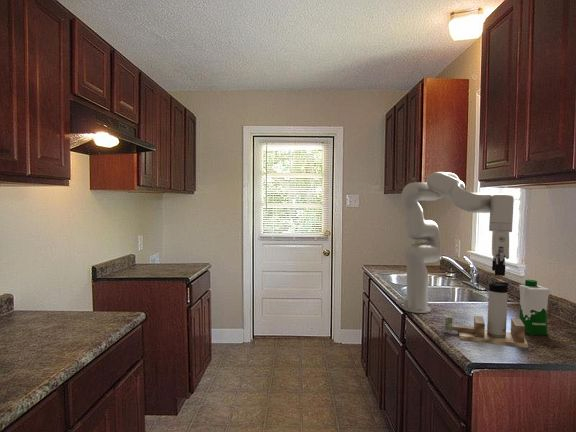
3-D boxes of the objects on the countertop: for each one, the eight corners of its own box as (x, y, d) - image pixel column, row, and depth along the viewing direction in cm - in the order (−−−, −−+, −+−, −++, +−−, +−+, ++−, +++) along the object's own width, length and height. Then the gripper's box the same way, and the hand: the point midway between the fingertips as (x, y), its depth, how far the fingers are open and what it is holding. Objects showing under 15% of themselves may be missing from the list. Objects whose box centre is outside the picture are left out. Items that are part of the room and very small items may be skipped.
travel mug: (509, 338, 143) (511, 284, 142) (489, 337, 144) (491, 283, 144) (503, 333, 149) (505, 281, 149) (484, 331, 151) (486, 280, 150)
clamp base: (459, 338, 146) (460, 319, 146) (459, 329, 157) (459, 311, 157) (527, 347, 138) (528, 327, 137) (522, 337, 149) (522, 318, 148)
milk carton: (536, 328, 160) (538, 279, 159) (551, 335, 151) (553, 284, 150) (515, 328, 160) (516, 279, 159) (528, 335, 151) (530, 284, 150)
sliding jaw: (445, 332, 149) (445, 319, 149) (445, 324, 158) (445, 312, 158) (484, 337, 144) (484, 323, 144) (482, 329, 153) (482, 316, 153)
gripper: (515, 229, 136) (513, 278, 137) (508, 226, 152) (506, 270, 153) (491, 228, 139) (489, 276, 140) (487, 225, 155) (485, 268, 156)
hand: (498, 273), depth 146 cm, fingers open, 9 cm apart
